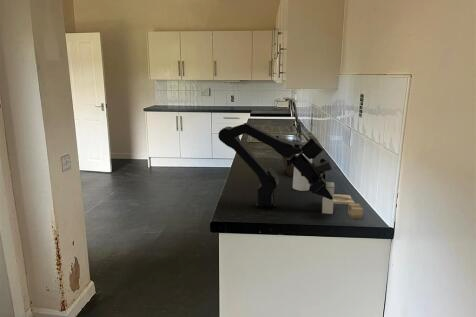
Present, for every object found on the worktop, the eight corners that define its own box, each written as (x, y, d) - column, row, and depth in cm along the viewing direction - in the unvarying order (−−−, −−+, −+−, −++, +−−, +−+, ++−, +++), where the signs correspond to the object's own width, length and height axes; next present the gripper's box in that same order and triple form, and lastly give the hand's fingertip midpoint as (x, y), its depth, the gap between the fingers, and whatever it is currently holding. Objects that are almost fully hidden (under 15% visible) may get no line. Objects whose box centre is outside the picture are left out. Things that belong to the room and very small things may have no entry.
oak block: (362, 219, 134) (363, 209, 133) (351, 219, 134) (352, 209, 134) (358, 213, 140) (359, 203, 139) (348, 213, 140) (348, 203, 139)
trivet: (354, 204, 149) (354, 202, 149) (330, 203, 150) (330, 201, 150) (349, 196, 159) (349, 194, 159) (326, 196, 160) (326, 194, 160)
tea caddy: (322, 213, 140) (323, 186, 137) (321, 208, 145) (323, 181, 143) (332, 213, 139) (334, 186, 136) (332, 208, 144) (333, 182, 142)
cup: (299, 184, 176) (301, 153, 172) (313, 188, 171) (316, 156, 167) (289, 187, 171) (291, 155, 167) (303, 192, 165) (306, 158, 161)
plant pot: (285, 170, 204) (286, 142, 200) (311, 173, 198) (312, 144, 194) (276, 176, 191) (277, 147, 187) (303, 179, 185) (305, 149, 181)
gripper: (320, 158, 129) (349, 189, 129) (319, 148, 146) (345, 175, 147) (297, 178, 132) (326, 208, 132) (299, 166, 150) (325, 192, 150)
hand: (331, 195), depth 140 cm, fingers open, 9 cm apart
